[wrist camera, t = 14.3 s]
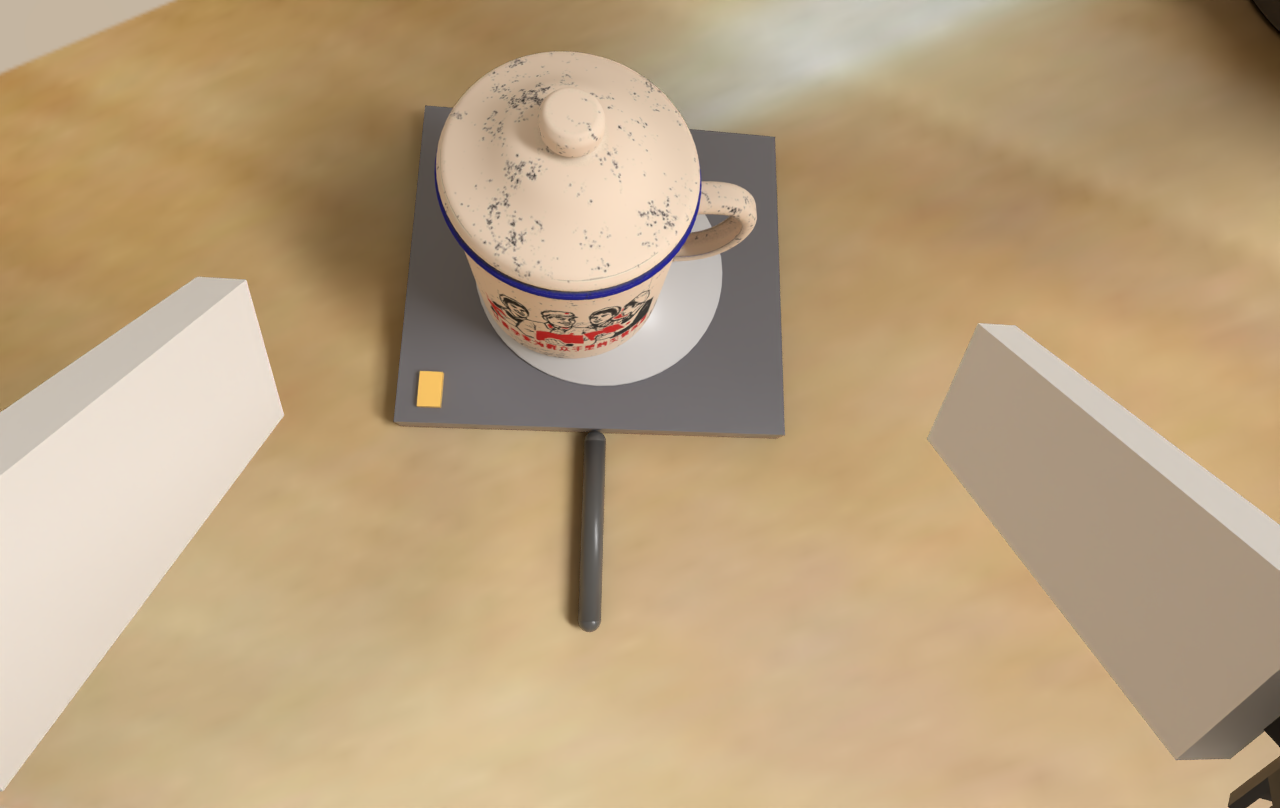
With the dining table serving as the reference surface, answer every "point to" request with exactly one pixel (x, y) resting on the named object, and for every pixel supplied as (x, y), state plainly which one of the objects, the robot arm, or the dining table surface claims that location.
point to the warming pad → (618, 379)
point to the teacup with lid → (576, 198)
